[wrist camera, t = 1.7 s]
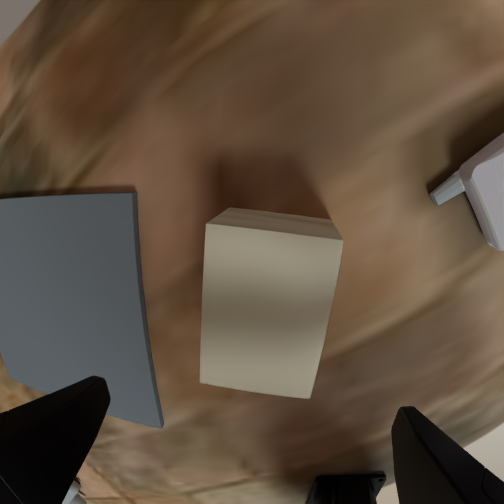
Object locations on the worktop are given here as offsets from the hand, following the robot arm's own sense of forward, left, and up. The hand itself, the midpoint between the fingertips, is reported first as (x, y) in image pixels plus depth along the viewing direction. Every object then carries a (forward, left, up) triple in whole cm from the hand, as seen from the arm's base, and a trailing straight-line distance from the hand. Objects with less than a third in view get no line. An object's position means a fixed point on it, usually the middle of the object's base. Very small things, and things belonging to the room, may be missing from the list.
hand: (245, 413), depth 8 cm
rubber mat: (-4, +17, -10) cm, 20 cm away
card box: (0, 0, -11) cm, 11 cm away
